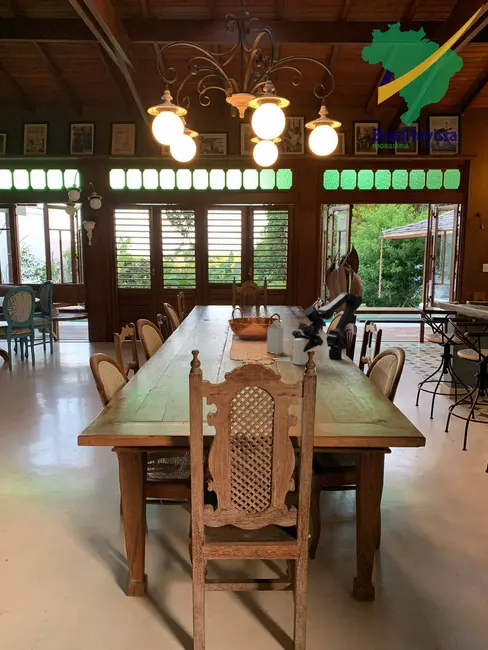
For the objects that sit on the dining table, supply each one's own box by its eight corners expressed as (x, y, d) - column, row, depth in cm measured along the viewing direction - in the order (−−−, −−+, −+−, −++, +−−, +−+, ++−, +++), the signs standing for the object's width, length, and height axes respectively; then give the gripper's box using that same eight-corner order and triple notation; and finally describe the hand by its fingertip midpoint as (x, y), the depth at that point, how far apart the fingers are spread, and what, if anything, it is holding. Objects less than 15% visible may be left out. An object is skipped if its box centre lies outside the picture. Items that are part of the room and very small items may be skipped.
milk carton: (266, 353, 280) (267, 320, 277) (271, 351, 287) (272, 319, 284) (277, 355, 277) (279, 321, 274) (282, 352, 283) (284, 320, 280)
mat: (290, 358, 270) (290, 357, 270) (290, 362, 260) (290, 361, 260) (272, 357, 271) (272, 356, 271) (271, 361, 261) (271, 360, 261)
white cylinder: (300, 360, 261) (301, 337, 259) (309, 363, 255) (310, 339, 253) (290, 362, 256) (291, 338, 254) (299, 365, 251) (300, 341, 249)
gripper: (295, 315, 262) (278, 337, 257) (320, 319, 247) (303, 343, 242) (305, 328, 268) (289, 350, 263) (330, 334, 253) (314, 357, 248)
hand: (298, 350), depth 254 cm, fingers open, 7 cm apart
